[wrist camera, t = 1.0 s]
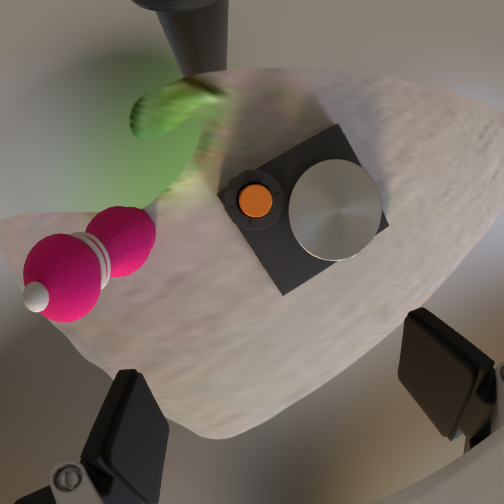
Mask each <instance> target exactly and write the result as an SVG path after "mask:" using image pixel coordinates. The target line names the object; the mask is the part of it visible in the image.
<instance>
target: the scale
mask: <svg viewBox="0 0 504 504" xmlns="http://www.w3.org/2000/svg"><path fill="white" fill-rule="evenodd" d="M331 159H341V160H346V161H350V162H352V163H355V164H357V165H358V166H360V167H361V168H362V166H361V164H360V163H359V161H358V159H357V157H356V155H355V153H354V151H353V149H352V148H351V146H350V144H349V142H348V140H347V139H346V137H345V135H344V133H343V132H342V130H341V128H340V126H339V125H338V124H336V125H334V126H332V127H330V128H328V129H326V130H324V131H323V132H321V133H319V134H317V135H315V136H313V137H312V138H310V139H308V140H306V141H304V142H303V143H301V144H299V145H297V146H296V147H294V148H292V149H290V150H289V151H287V152H285V153H283V154H282V155H280V156H278V157H276V158H275V159H273V160H271V161H270V162H268V163H266V164H265V165H263V166H261V167H260V168H258V169H256V170H247V171H244V172H242V173H241V174H239V175H237V176H236V177H234V178H233V179H232V180H231V181H230V183H229V185H228V187H227V188H226V189H224V190H223V191H221V192H220V193H218V194H217V196H218V197H219V199H220V200H221V202H222V203H223V205H224V206H225V210H226V212H227V213H228V215H229V216H230V218H231V219H232V221H233V222H234V223H235V224H236V225H237V226H238V228H239V229H240V231H241V232H242V234H243V235H244V237H245V239H246V240H247V242H248V243H249V245H250V246H251V248H252V249H253V251H254V252H255V254H256V255H257V257H258V259H259V260H260V262H261V263H262V265H263V266H264V268H265V269H266V271H267V272H268V274H269V275H270V277H271V279H272V280H273V282H274V283H275V285H276V286H277V288H278V289H279V291H280V292H281V294H282V295H283V296H284V295H285V294H287V293H289V292H290V291H292V290H293V289H295V288H297V287H298V286H300V285H301V284H303V283H304V282H306V281H308V280H309V279H311V278H312V277H314V276H315V275H317V274H319V273H320V272H322V271H323V270H325V269H326V268H328V267H329V266H331V265H332V264H334V263H335V262H337V261H329V260H324V259H320V258H318V257H315V256H313V255H312V254H310V253H309V252H307V251H306V250H305V249H304V248H303V247H302V246H301V245H300V244H299V243H298V242H297V240H296V239H295V237H294V236H293V234H292V232H291V229H290V226H289V222H288V217H287V203H288V198H289V194H290V191H291V189H292V187H293V185H294V183H295V181H296V180H297V178H298V177H299V176H300V175H301V174H302V173H303V172H304V171H305V170H306V169H307V168H309V167H310V166H312V165H314V164H316V163H318V162H321V161H325V160H331ZM253 184H256V185H261V186H264V187H265V188H267V189H268V190H269V192H270V194H271V196H272V206H271V208H270V210H269V211H268V212H267V213H266V214H265V215H263V216H261V217H251V216H248V215H247V214H245V213H244V212H243V210H242V209H241V207H240V205H239V195H240V193H241V191H242V190H243V189H244V188H245V187H247V186H249V185H253ZM388 226H389V225H388V222H387V220H386V218H385V215H384V213H383V211H382V214H381V220H380V224H379V228H378V230H377V232H376V234H375V235H377V234H378V233H379V232H381V231H382V230H384V229H385V228H387V227H388Z"/></svg>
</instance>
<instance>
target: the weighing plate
mask: <svg viewBox="0 0 504 504" xmlns="http://www.w3.org/2000/svg"><path fill="white" fill-rule="evenodd" d="M381 214H382V204H381V197H380V194H379V191H378V188H377V186H376V184H375V182H374V180H373V179H372V178H371V176H370V175H369V174H368V173H367V172H366V171H365V170H364V169H363V168H361V167H360V166H358V165H357V164H355V163H352V162H350V161H346V160H341V159H331V160H325V161H321V162H318V163H316V164H314V165H312V166H310V167H309V168H307V169H306V170H305V171H304V172H303V173H302V174H301V175H300V176H299V177H298V178H297V180H296V181H295V183H294V185H293V187H292V189H291V191H290V194H289V198H288V203H287V217H288V222H289V226H290V229H291V232H292V234H293V236H294V237H295V239H296V240H297V242H298V243H299V244H300V245H301V246H302V247H303V248H304V249H305V250H306V251H307V252H309V253H310V254H312V255H313V256H315V257H318V258H320V259H324V260H329V261H339V260H344V259H348V258H350V257H353V256H355V255H356V254H358V253H360V252H361V251H362V250H364V249H365V248H366V247H367V246H368V245H369V243H370V242H371V241H372V239H373V238H374V236H375V234H376V232H377V230H378V228H379V224H380V220H381Z"/></svg>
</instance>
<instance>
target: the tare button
mask: <svg viewBox="0 0 504 504" xmlns="http://www.w3.org/2000/svg"><path fill="white" fill-rule="evenodd" d="M239 205H240V207H241V209H242V210H243V212H244V213H245V214H247V215H248V216H251V217H261V216H263V215H265V214H266V213H267V212H268V211H269V210H270V208H271V206H272V196H271V194H270V192H269V190H268V189H267V188H265V187H264V186H261V185H256V184H253V185H249V186H247V187H245V188H244V189H243V190H242V191H241V193H240V195H239Z"/></svg>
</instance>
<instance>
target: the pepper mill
mask: <svg viewBox="0 0 504 504" xmlns="http://www.w3.org/2000/svg"><path fill="white" fill-rule="evenodd" d="M155 237H156V232H155V227H154V224H153V222H152V220H151V218H150V217H149V216H148V214H147V213H145V212H144V211H143V210H141V209H139V208H135V207H122V206H114V207H110V208H107V209H105V210H103V211H101V212H100V213H98V214H97V215H96V216H95V217H94V218H93V219H92V221H91V222H90V223H89V225H88V226H87V228H86V231H85V232H76V233H73V234H70V235H68V234H54V235H50V236H47V237H45V238H44V239H42V240H41V241H39V242H38V243H37V244H36V245H35V246H34V247H33V248H32V249H31V251H30V252H29V254H28V256H27V258H26V261H25V264H24V271H23V276H24V285H25V289H24V292H23V300H24V303H25V305H26V306H27V308H28V309H30V310H31V311H33V312H40V313H41V314H42V315H43V316H45V317H47V318H48V319H50V320H53V321H57V322H72V321H76V320H78V319H80V318H82V317H84V316H85V315H86V314H87V313H88V312H89V311H90V310H91V309H92V308H93V307H94V305H95V304H96V302H97V300H98V297H99V295H100V291H101V289H103V288H104V287H105V285H106V284H107V282H108V280H109V277H120V276H126V275H129V274H131V273H133V272H135V271H136V270H137V269H139V268H140V267H141V266H142V265H143V264H144V262H145V261H146V260H147V258H148V255H149V253H150V250H151V249H152V247H153V245H154V242H155Z"/></svg>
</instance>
